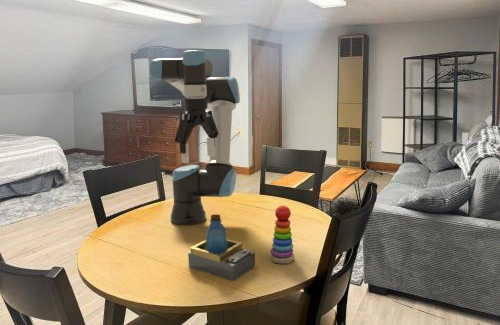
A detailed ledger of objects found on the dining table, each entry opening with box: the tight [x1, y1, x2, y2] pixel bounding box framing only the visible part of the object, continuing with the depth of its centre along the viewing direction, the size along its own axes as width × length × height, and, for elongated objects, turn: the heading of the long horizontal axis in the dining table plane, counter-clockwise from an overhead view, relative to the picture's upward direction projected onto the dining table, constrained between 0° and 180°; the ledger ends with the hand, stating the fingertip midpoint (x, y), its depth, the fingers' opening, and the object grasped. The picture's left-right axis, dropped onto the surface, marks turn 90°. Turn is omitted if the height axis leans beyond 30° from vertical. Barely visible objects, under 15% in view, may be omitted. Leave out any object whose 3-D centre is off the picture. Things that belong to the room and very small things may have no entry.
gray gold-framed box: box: [187, 238, 256, 282], centre depth 136 cm, size 18×12×7 cm, turn 56°
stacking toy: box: [269, 205, 295, 265], centre depth 140 cm, size 8×8×19 cm
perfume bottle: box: [205, 214, 227, 254], centre depth 136 cm, size 6×6×12 cm
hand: (198, 159), depth 146 cm, fingers open, 13 cm apart
